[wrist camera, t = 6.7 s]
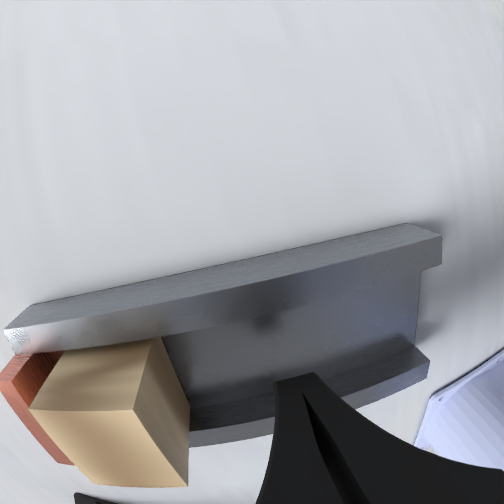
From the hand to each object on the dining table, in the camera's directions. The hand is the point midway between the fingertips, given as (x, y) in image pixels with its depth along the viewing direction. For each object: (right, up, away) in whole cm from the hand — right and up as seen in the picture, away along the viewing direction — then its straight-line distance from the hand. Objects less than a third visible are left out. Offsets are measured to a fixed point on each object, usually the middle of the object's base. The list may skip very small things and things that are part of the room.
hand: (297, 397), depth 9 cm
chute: (-3, +1, +4) cm, 5 cm away
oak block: (-7, -1, +2) cm, 7 cm away
